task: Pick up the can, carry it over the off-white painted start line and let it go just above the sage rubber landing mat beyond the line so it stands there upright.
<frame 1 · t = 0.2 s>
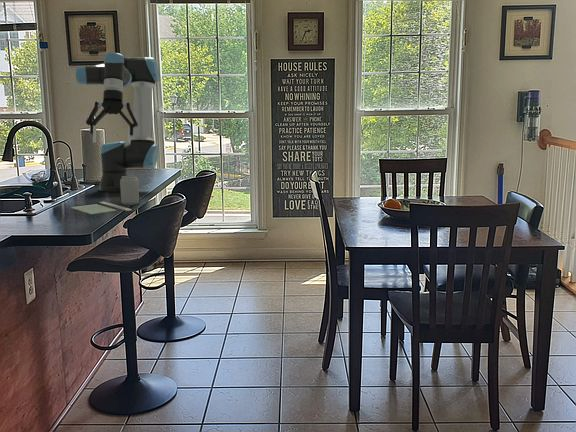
hand: (111, 142, 242), 27 cm above the worktop, tool tilted 15°, fingers open, 13 cm apart
start line: (115, 206, 249), on the worktop
can: (130, 204, 256), on the worktop
landing mat: (93, 209, 243), on the worktop
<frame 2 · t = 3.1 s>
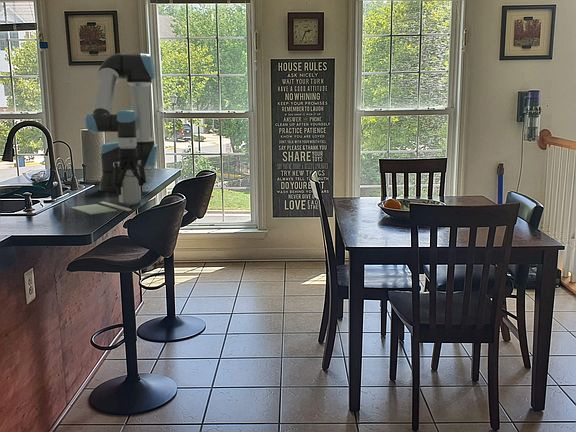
hand: (130, 201, 256), 1 cm above the worktop, tool pointing down, fingers closed on can, 7 cm apart
can: (130, 204, 256), on the worktop, touching gripper
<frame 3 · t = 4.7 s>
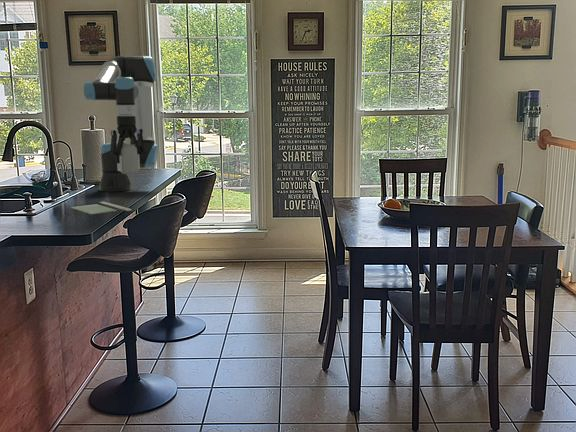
hand: (128, 170, 254), 14 cm above the worktop, tool pointing down, fingers closed on can, 7 cm apart
can: (129, 173, 254), point 13 cm above the worktop, touching gripper
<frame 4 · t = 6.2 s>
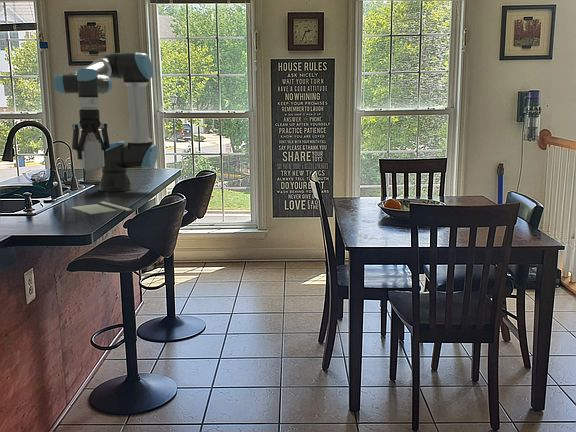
hand: (92, 166, 240), 17 cm above the worktop, tool pointing down, fingers closed on can, 7 cm apart
can: (92, 170, 240), point 16 cm above the worktop, touching gripper
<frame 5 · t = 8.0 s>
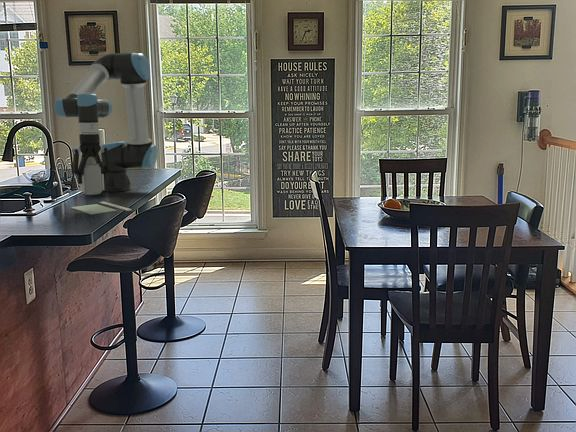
hand: (92, 190, 241), 8 cm above the worktop, tool pointing down, fingers closed on can, 7 cm apart
can: (92, 193, 241), point 6 cm above the worktop, touching gripper
when the fingers open (3 cm above the worktop, at t = 9.3 s): can drops 1 cm, resting on landing mat.
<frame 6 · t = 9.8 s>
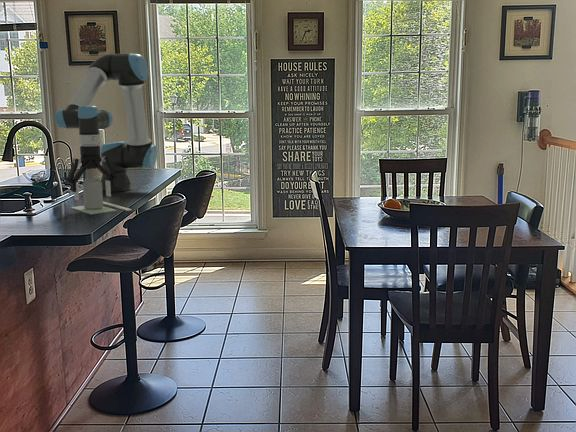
hand: (93, 198, 242), 5 cm above the worktop, tool pointing down, fingers open, 13 cm apart
can: (93, 209, 243), resting on landing mat
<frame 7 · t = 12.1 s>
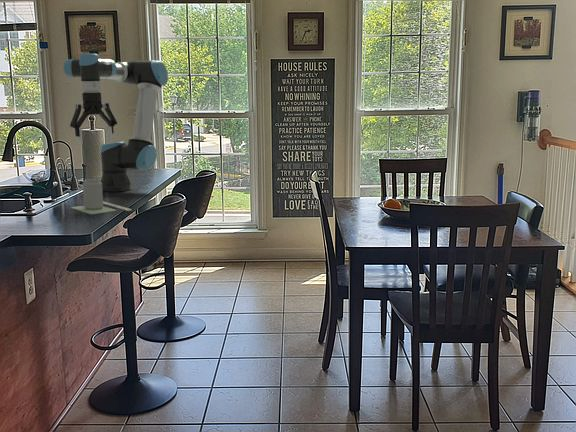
hand: (95, 143, 254), 26 cm above the worktop, tool pointing down, fingers open, 13 cm apart
nothing on the worktop moved.
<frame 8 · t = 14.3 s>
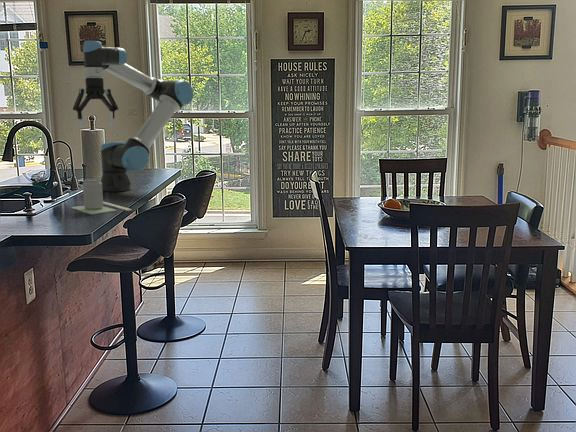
hand: (97, 126, 267), 32 cm above the worktop, tool pointing down, fingers open, 13 cm apart
nothing on the worktop moved.
at the end: can inside the target area (0.1 cm from its centre), resting on landing mat; can tilted 0°; the gripper is holding nothing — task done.
